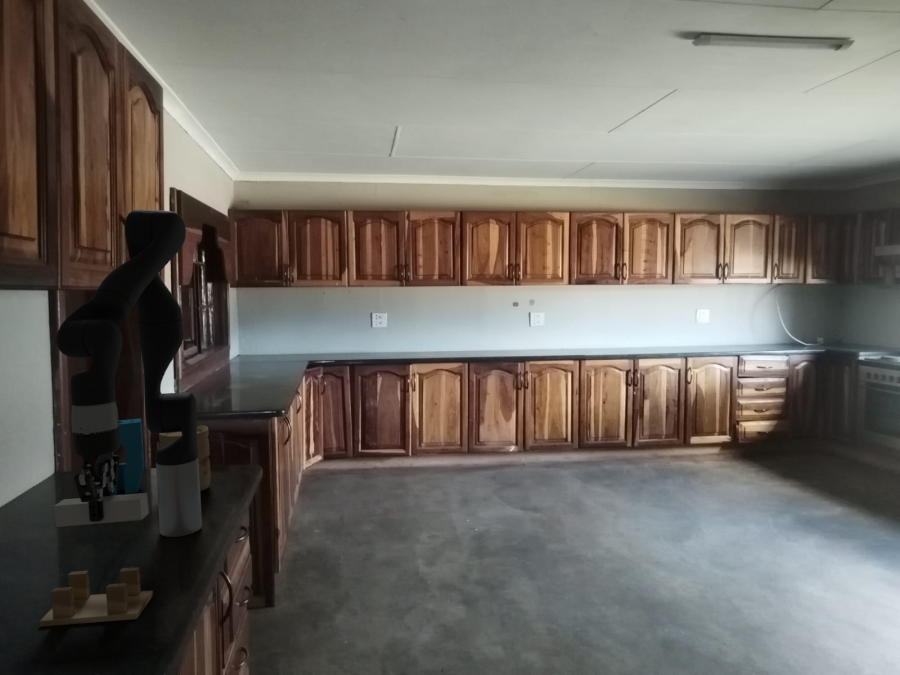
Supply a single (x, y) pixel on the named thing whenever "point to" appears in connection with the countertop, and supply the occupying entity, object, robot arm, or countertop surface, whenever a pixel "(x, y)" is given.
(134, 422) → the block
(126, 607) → the rack
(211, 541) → the countertop surface
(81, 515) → the clay bar
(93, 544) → the countertop surface
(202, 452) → the container
